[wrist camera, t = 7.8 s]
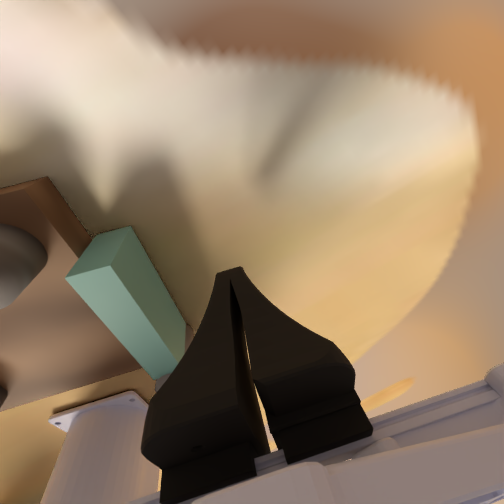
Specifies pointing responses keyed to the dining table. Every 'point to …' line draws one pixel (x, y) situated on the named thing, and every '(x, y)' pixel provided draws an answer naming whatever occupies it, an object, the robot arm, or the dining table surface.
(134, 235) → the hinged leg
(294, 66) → the dining table surface
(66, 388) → the stool seat
